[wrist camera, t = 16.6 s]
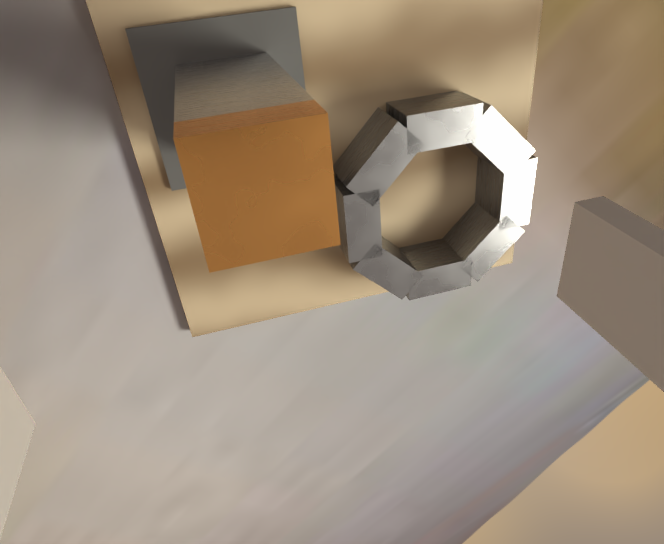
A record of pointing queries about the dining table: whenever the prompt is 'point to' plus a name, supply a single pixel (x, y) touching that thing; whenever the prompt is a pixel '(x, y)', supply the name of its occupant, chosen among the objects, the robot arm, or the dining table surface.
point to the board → (336, 130)
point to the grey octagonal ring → (472, 228)
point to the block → (254, 161)
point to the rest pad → (201, 45)
